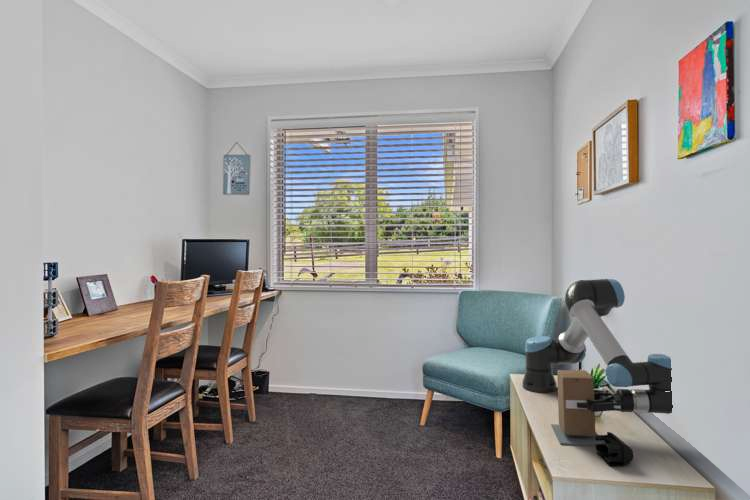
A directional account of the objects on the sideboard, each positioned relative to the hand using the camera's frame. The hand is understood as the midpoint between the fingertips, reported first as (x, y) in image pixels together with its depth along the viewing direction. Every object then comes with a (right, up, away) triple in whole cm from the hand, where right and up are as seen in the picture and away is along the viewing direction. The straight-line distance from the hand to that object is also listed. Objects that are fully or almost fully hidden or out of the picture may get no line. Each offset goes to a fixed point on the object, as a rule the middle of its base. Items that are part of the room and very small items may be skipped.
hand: (562, 398), depth 159 cm
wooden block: (+5, -11, -1) cm, 12 cm away
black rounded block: (+8, -13, -19) cm, 24 cm away
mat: (+5, -13, -1) cm, 14 cm away
